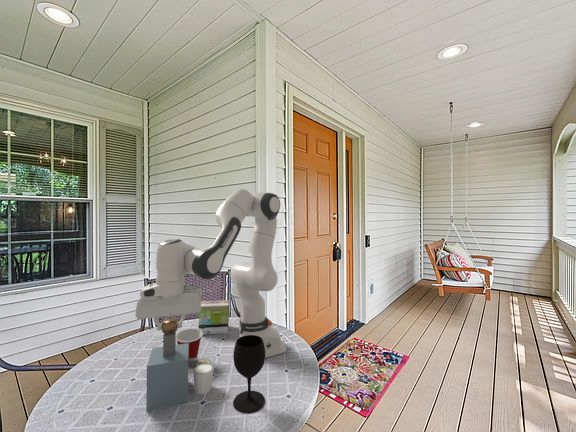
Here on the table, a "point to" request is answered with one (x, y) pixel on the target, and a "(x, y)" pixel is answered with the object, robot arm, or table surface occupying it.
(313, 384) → the table surface
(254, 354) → the wine glass
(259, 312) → the robot arm
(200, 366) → the shot glass
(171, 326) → the pump plunger
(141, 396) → the table surface
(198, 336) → the plastic cup
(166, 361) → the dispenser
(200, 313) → the tea box
